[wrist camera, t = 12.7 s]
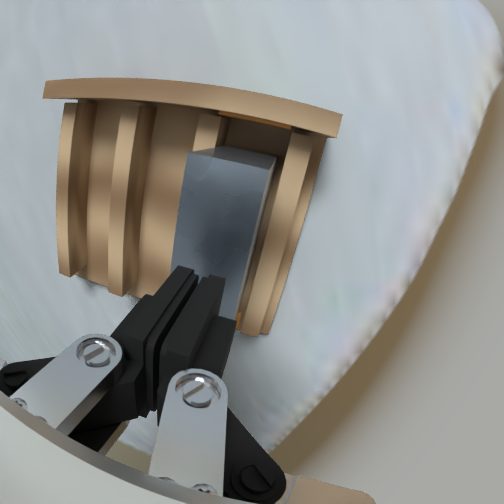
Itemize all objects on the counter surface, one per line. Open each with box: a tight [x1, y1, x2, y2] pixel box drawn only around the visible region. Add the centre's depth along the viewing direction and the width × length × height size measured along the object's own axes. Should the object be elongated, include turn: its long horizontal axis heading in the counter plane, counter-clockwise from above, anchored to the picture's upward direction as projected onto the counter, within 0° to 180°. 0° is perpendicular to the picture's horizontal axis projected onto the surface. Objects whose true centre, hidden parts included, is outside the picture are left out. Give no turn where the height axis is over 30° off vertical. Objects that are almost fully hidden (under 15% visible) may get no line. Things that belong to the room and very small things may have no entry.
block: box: [170, 145, 278, 320], centre depth 16 cm, size 9×3×8 cm, turn 167°
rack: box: [43, 78, 343, 337], centre depth 18 cm, size 16×18×5 cm
